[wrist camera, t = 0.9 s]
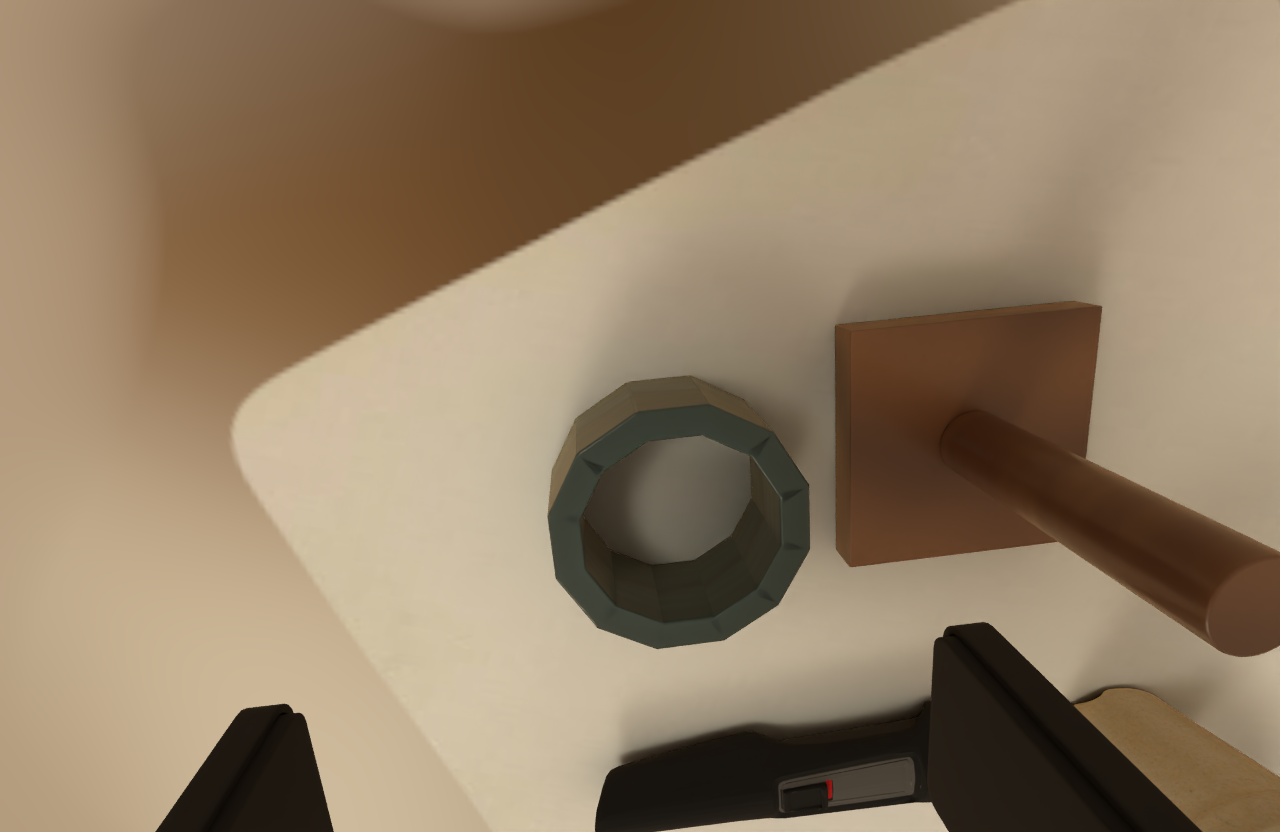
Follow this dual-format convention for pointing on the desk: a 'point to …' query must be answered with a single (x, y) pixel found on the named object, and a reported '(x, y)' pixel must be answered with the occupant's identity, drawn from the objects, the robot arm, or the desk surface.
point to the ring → (687, 591)
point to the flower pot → (1188, 762)
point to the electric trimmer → (769, 778)
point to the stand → (1022, 466)
